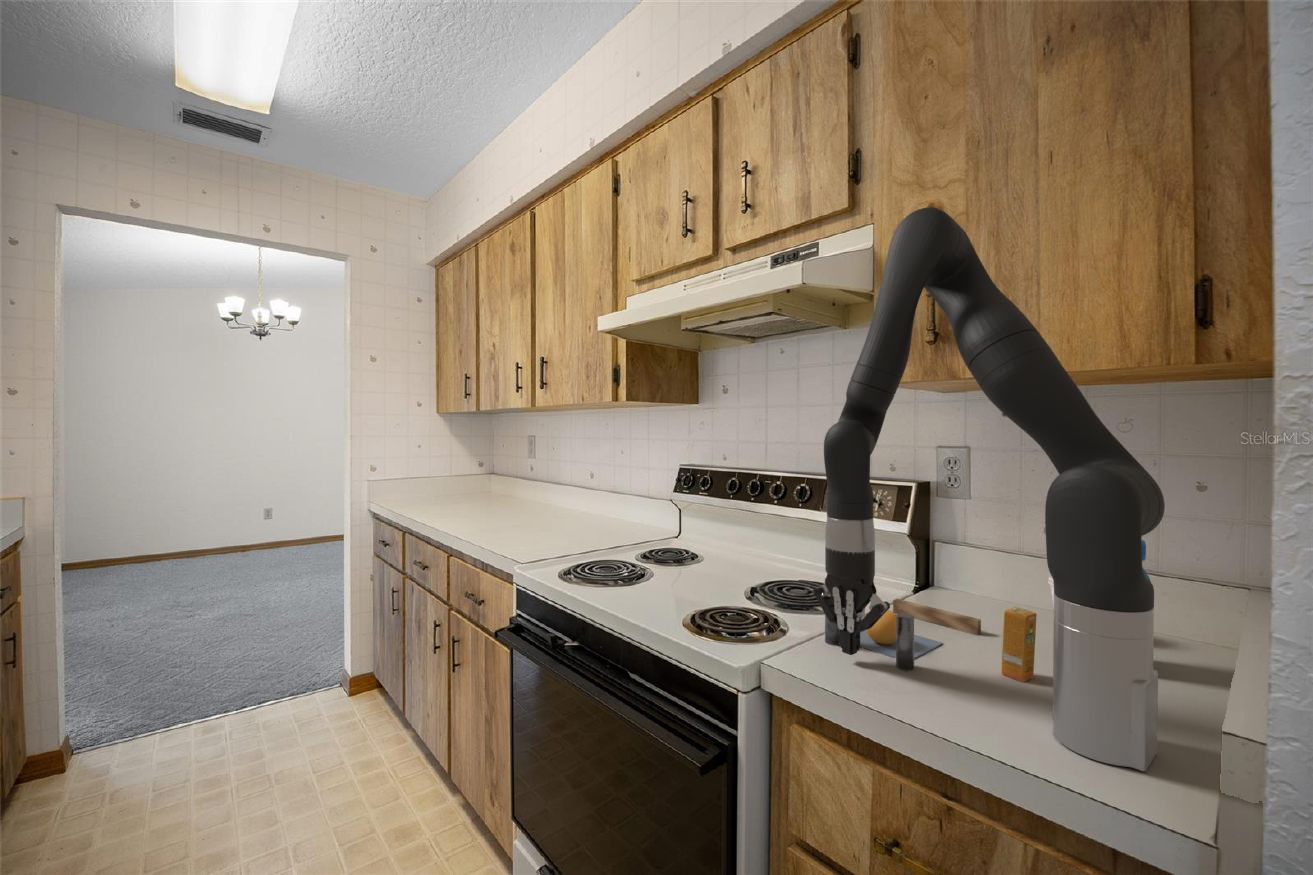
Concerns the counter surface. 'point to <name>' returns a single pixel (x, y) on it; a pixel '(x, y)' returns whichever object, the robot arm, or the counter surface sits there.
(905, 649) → the post inner
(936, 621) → the wall
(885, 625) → the ball
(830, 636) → the post outer
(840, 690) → the counter surface
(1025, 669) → the supplement box
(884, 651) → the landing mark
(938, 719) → the counter surface
